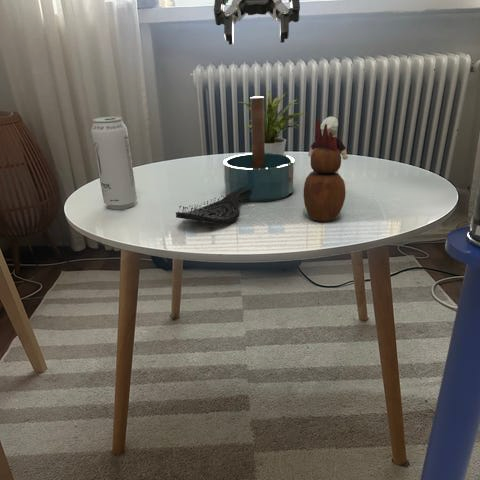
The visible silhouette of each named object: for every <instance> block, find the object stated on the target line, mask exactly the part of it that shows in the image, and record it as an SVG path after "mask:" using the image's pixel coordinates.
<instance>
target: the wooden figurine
mask: <svg viewBox="0 0 480 480" xmlns="http://www.w3.org/2000/svg"><path fill="white" fill-rule="evenodd" d="M315 127H316V128H315V141H314V142H315V149H314V150H313V152H312V154H311V157H310V168H311V169H312V171H310V172H309V174H308V175H307V176H306V177H305V180H304V183H303V192H302V193H303V194H302V195H303V203H304V206H305V210H306V212H307V215H308V216H309V218H310V219H311V220H314V221H317V222H332V221H335V219H337V218H338V216H339V215H340V213H341V211H342V209H343V207H344V204H345V200H346V185H345V184H346V183H345V181H344V179H343V177H342V176H341V175H340V174H339V170H340V168H341V166H342V154H341V152H340V151H339V150H338V149H337V141H336V138H337V137H336V138H333V139H332V137H333V136H332V132H330V133H329V136H328V131H327V124H325V126H324V131H322V130H321V123H320V120H319V119H317V120H316V126H315ZM337 171H338V173H336V172H337Z"/></svg>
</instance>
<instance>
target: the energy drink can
mask: <svg viewBox="0 0 480 480" xmlns="http://www.w3.org/2000/svg"><path fill="white" fill-rule="evenodd" d="M92 122H93V124H92V127H91V130H90V133H91V137H92V144H93V149H94V154H95V155H94V156H95V161H96V165H97V171H98V177H99V183H100V188H101V194H102V201H103V203H104V204H105V205H107V208H108V209H110V210H116V211H117V210H127V209H130V208H133V207H135V205H136V201H137V200H138V195H137V188H136V182H135V175H134V174H135V173H134V167H133V160H132V155H131V153H132V152H131V147H130V140H129V139H130V138H129V132H128V128H127V126H126V124H125V123H124V121H123V117H122V116H103V117H96V118H93V119H92Z"/></svg>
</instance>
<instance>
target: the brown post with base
mask: <svg viewBox="0 0 480 480" xmlns="http://www.w3.org/2000/svg"><path fill="white" fill-rule="evenodd" d="M250 103H251V104H250V106H251V111H250V120H251V121H250V125H251V129H250V130H251V131H250V132H251V154H252V169H260V168H265V139H264V111H265V96H252V97H250Z"/></svg>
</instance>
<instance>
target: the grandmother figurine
mask: <svg viewBox="0 0 480 480" xmlns="http://www.w3.org/2000/svg"><path fill="white" fill-rule="evenodd" d="M325 124H327V131H328V136H329V133H330V132H332V139H333V138H336V141H337V149H338V150H339V152H340V154H341V158H342V160H344V161H346V160H348V159H349V155H348V152H347V148H346V146H345V145H344V143H343V141H342V140H341V139H340V138H339V137H336V136H335V135H336V133H337V132H338V131H337V130H338V127H339V120H338V118H337V117H335V116H331V115H330V116H328V117H326V118H325V119H323V121H322V123H320V127H321V132H323V131H324V126H325ZM314 149H315V141H314V142H312V144H311V145H310V148H309V151H308V152H307V155H308V157H309V158H311V154H312V152H313V150H314ZM336 173H338V174H339V170H338V171H337V172H336Z"/></svg>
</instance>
